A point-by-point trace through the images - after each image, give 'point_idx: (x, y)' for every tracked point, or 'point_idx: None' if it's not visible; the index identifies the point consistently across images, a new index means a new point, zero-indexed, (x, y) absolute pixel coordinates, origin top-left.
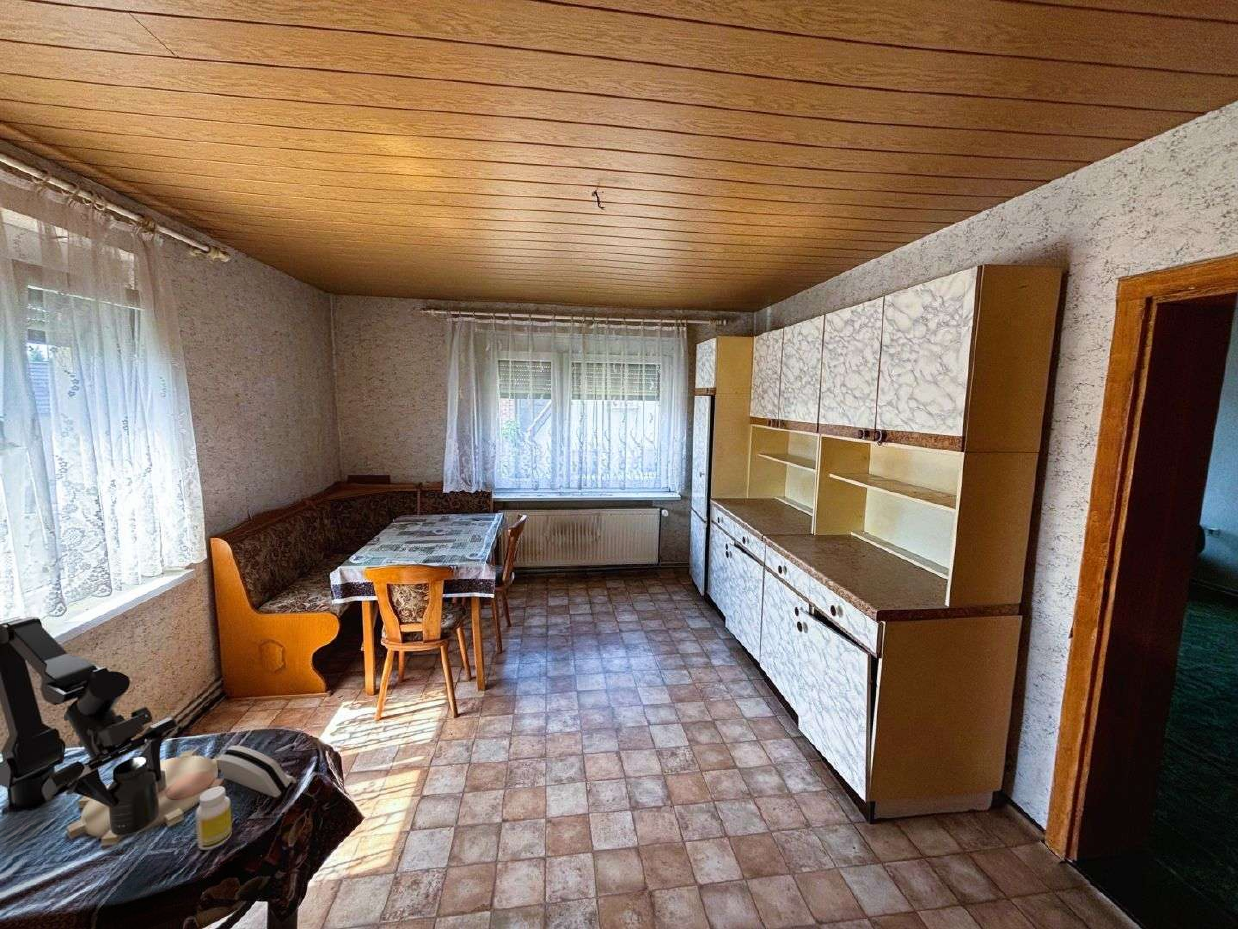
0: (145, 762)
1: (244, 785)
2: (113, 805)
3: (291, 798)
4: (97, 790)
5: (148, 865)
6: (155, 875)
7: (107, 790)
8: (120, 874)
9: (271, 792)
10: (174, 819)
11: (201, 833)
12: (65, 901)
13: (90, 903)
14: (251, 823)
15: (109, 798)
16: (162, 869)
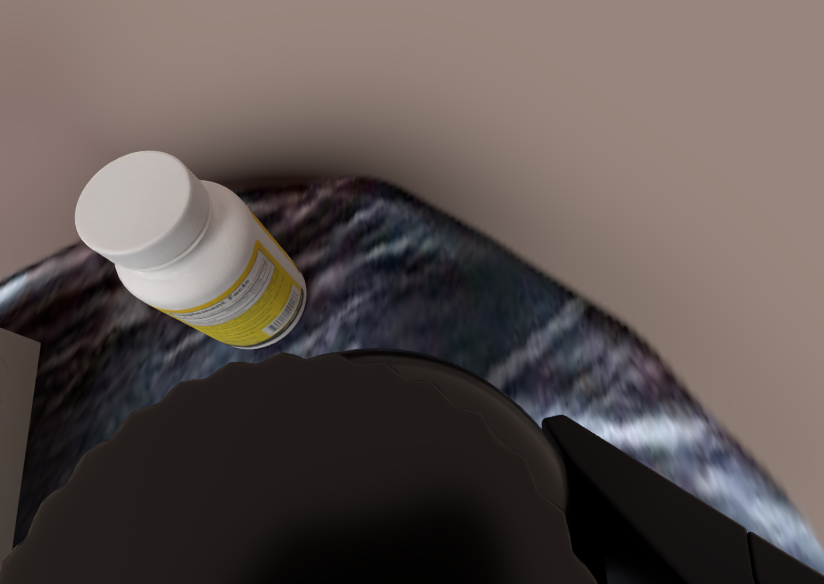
0: (78, 463)
1: (10, 545)
2: (562, 417)
3: (30, 290)
4: (807, 566)
5: None
6: (433, 295)
7: (644, 528)
8: None
9: (23, 342)
10: None
11: (279, 251)
12: (665, 427)
13: (601, 339)
14: None
15: (604, 457)
16: (410, 304)
